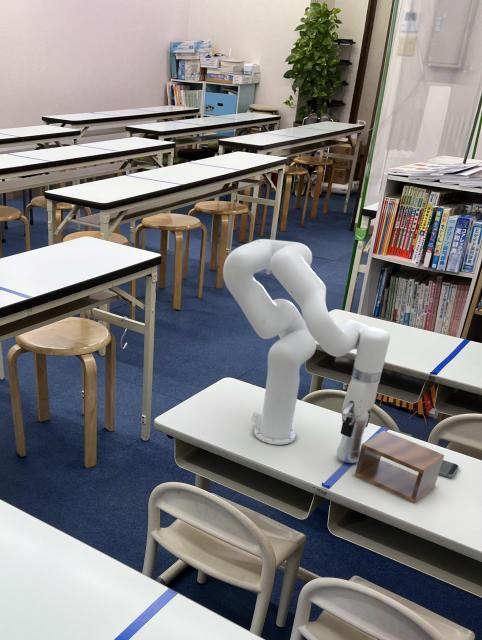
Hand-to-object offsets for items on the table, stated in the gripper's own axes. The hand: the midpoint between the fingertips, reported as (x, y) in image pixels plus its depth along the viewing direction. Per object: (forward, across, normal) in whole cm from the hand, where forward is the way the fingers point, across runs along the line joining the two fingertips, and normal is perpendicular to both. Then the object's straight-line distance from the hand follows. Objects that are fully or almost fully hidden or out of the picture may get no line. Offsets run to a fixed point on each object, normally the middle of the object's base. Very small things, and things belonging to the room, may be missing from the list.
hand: (353, 430), depth 198 cm
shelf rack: (+10, 0, +15) cm, 18 cm away
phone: (+10, -16, +17) cm, 25 cm away
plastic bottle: (+10, 0, 0) cm, 10 cm away
